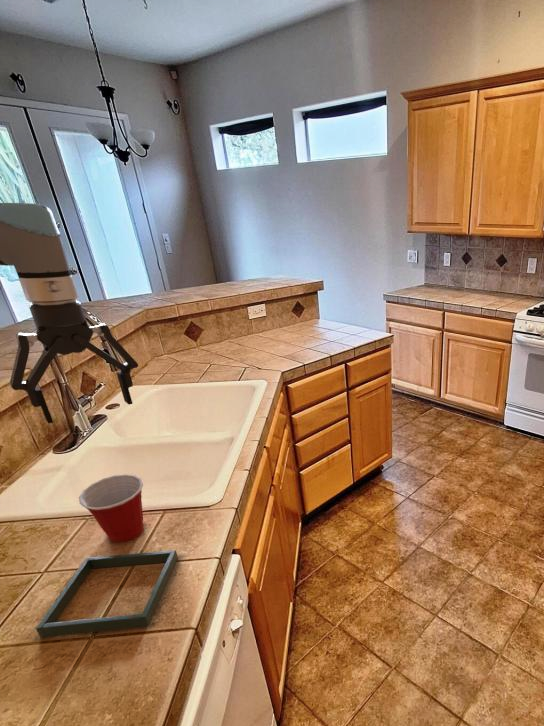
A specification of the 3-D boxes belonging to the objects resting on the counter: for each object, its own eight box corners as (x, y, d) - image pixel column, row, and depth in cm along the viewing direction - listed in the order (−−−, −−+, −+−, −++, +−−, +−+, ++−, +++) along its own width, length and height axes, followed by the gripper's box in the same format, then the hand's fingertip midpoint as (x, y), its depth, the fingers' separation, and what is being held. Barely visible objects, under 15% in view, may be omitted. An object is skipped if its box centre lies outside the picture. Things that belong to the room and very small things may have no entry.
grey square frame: (42, 642, 67) (35, 628, 65) (91, 570, 80) (86, 557, 79) (150, 630, 69) (145, 616, 67) (179, 562, 83) (175, 550, 81)
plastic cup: (84, 555, 84) (63, 505, 78) (115, 521, 93) (98, 474, 88) (140, 554, 84) (124, 504, 79) (165, 520, 94) (152, 474, 88)
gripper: (-40, 313, 66) (14, 436, 75) (138, 297, 82) (163, 400, 91) (-43, 306, 70) (8, 423, 80) (125, 292, 87) (151, 391, 96)
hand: (91, 411), depth 86 cm, fingers open, 13 cm apart
